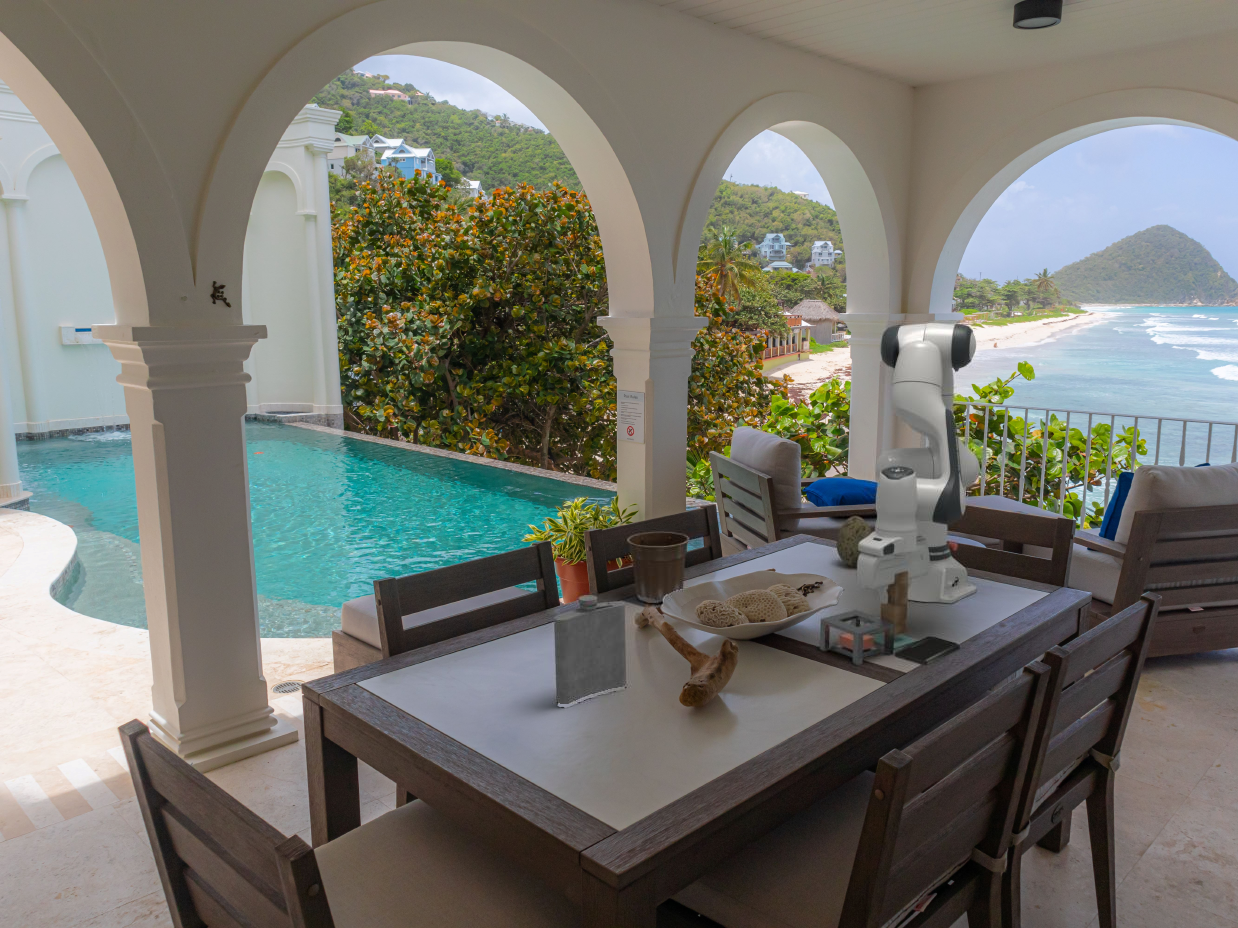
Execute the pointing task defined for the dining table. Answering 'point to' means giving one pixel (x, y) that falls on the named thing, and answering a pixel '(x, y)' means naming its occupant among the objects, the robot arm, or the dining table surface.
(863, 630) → the frame
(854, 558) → the decorative egg
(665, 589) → the plant pot
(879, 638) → the mat
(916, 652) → the phone
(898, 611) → the peg
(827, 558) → the dining table surface
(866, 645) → the salmon pink panel
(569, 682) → the hip flask
